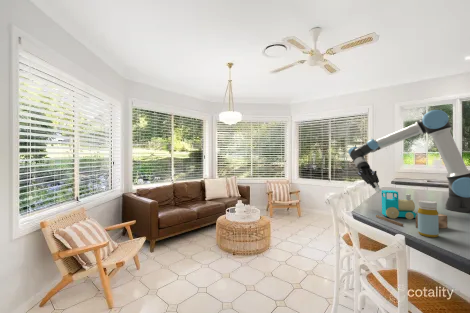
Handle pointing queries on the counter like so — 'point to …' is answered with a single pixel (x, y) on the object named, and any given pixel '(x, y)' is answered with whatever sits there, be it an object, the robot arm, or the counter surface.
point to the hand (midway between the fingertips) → (379, 191)
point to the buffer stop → (441, 221)
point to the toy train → (397, 206)
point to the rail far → (389, 220)
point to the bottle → (428, 218)
